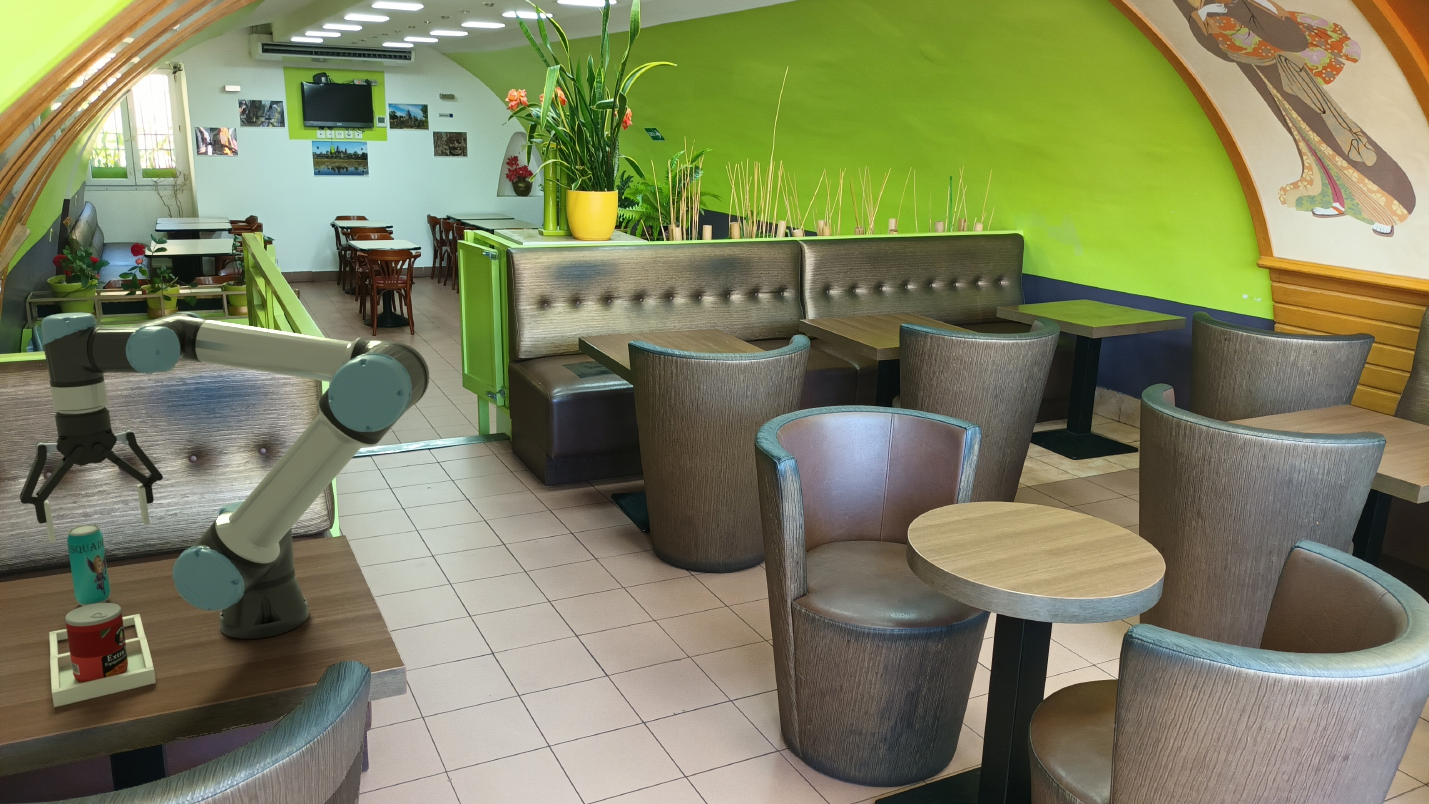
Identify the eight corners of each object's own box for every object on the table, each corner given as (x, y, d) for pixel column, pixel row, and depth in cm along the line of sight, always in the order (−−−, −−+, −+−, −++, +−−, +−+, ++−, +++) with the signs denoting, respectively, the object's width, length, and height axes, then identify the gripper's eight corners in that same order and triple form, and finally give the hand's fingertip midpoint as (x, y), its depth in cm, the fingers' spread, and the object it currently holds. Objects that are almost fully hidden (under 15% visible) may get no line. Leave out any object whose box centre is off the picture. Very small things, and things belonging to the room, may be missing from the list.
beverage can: (94, 609, 189) (84, 535, 186) (69, 606, 190) (58, 533, 187) (118, 597, 195) (108, 525, 191) (93, 594, 196) (83, 522, 192)
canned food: (114, 684, 161) (105, 622, 158) (63, 685, 160) (53, 622, 158) (138, 662, 168) (130, 601, 166) (89, 662, 168) (81, 602, 165)
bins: (155, 682, 163) (154, 668, 162) (54, 707, 155) (51, 692, 155) (140, 621, 185) (138, 608, 184) (50, 639, 177) (48, 627, 176)
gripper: (162, 393, 172) (177, 509, 177) (-14, 415, 157) (8, 541, 162) (171, 401, 167) (187, 520, 172) (-11, 425, 152) (12, 555, 156)
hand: (100, 531), depth 167 cm, fingers open, 13 cm apart
